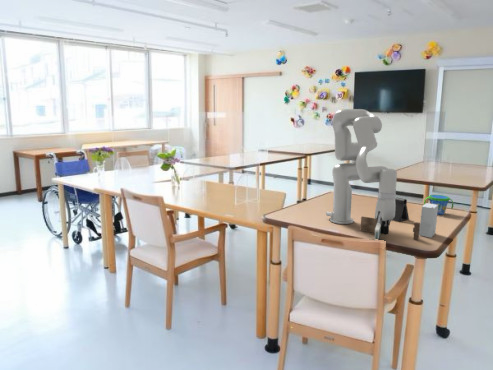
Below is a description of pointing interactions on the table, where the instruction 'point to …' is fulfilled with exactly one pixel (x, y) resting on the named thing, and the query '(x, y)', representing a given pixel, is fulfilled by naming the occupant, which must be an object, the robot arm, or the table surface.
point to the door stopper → (401, 210)
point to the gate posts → (370, 226)
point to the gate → (377, 231)
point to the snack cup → (439, 202)
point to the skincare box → (428, 220)
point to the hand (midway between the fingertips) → (384, 233)
